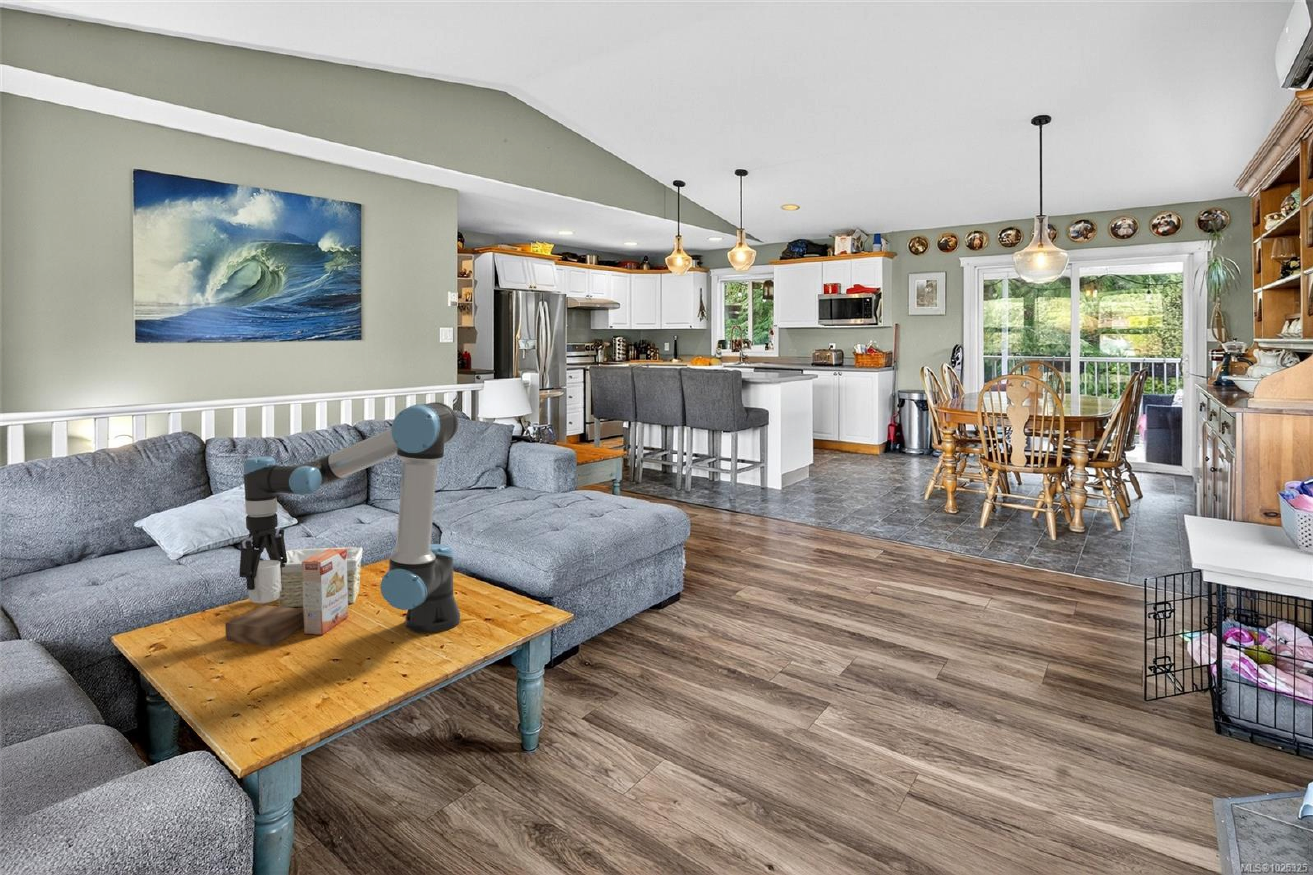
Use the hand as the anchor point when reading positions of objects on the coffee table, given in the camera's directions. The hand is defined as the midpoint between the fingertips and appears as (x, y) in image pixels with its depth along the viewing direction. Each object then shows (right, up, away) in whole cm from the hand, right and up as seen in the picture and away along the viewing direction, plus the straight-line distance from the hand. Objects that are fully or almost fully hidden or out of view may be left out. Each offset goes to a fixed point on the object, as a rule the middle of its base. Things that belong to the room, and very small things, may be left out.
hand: (265, 595), depth 196 cm
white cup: (0, -1, 0) cm, 1 cm away
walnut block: (0, -11, +1) cm, 11 cm away
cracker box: (+13, -11, +8) cm, 19 cm away
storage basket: (+2, -8, +29) cm, 30 cm away
